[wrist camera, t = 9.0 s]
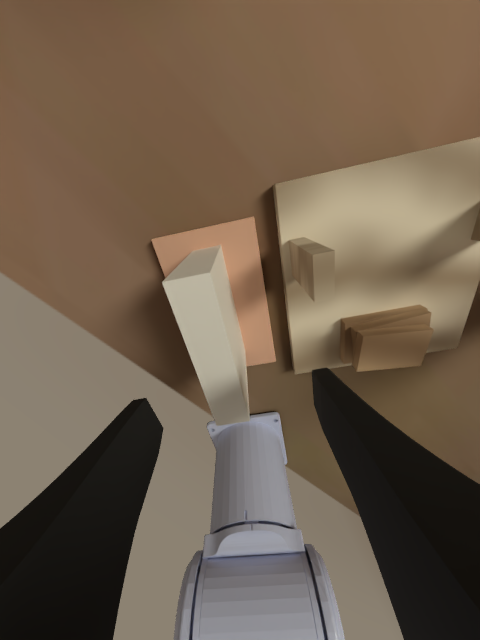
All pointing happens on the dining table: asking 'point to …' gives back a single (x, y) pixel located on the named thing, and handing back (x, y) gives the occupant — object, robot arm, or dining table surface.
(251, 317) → the mat
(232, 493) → the robot arm
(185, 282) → the white upright panel
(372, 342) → the offcut stack
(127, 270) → the dining table surface
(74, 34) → the dining table surface
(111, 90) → the dining table surface
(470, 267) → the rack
